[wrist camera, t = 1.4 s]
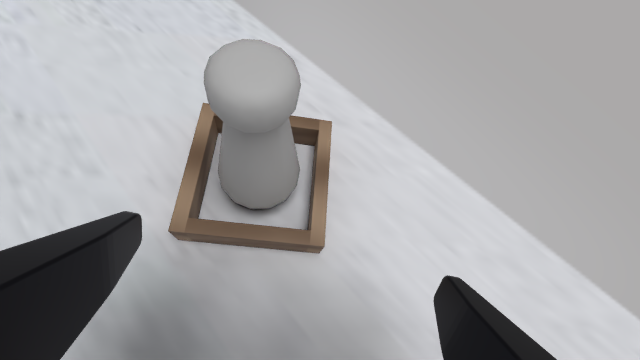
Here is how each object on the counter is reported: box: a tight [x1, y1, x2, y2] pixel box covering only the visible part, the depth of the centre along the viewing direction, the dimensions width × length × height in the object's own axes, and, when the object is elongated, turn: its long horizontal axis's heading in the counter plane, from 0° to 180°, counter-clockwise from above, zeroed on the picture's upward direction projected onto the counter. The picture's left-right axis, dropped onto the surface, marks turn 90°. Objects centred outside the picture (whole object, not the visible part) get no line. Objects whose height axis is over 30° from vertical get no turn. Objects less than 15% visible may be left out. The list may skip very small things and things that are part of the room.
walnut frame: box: [168, 103, 332, 253], centre depth 24 cm, size 10×10×2 cm
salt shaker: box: [204, 39, 301, 209], centre depth 19 cm, size 6×6×13 cm
